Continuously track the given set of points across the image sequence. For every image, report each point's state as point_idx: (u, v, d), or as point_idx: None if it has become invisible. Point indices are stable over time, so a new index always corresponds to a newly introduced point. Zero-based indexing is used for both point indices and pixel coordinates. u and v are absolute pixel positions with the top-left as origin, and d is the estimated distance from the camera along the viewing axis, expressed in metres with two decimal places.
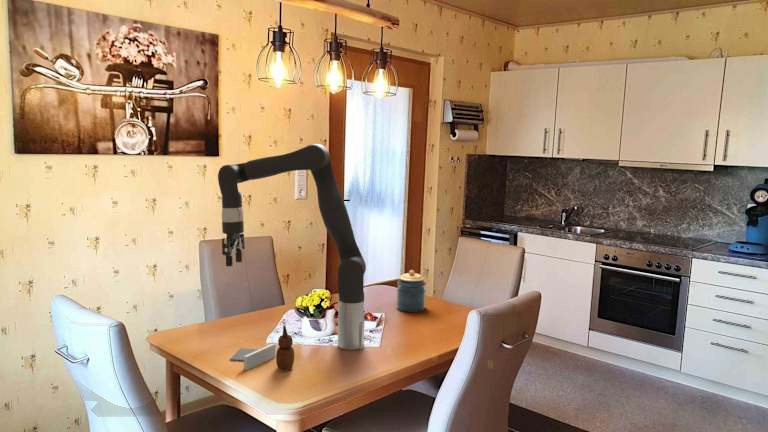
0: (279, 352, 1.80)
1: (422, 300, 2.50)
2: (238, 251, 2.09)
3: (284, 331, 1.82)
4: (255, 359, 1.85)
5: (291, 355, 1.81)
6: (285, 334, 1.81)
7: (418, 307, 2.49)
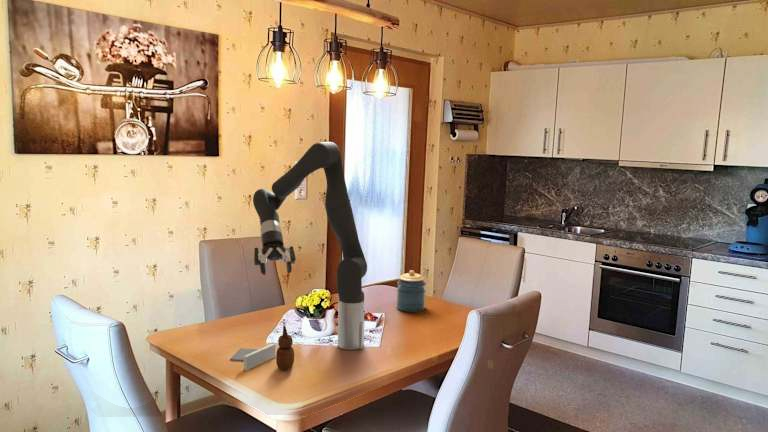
0: (279, 352, 1.80)
1: (422, 300, 2.50)
2: (286, 263, 1.99)
3: (284, 331, 1.82)
4: (255, 359, 1.85)
5: (291, 355, 1.81)
6: (285, 334, 1.81)
7: (418, 307, 2.49)
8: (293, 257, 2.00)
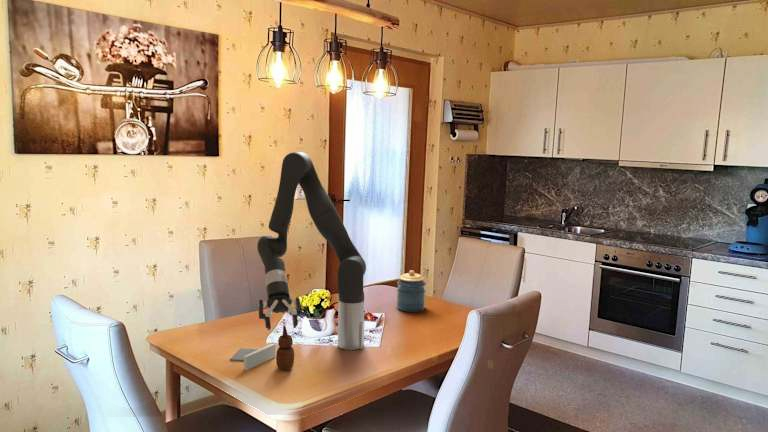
0: (279, 352, 1.80)
1: (422, 300, 2.50)
2: (292, 316, 1.90)
3: (284, 331, 1.82)
4: (255, 359, 1.85)
5: (291, 355, 1.81)
6: (285, 334, 1.81)
7: (418, 307, 2.49)
8: (299, 310, 1.91)
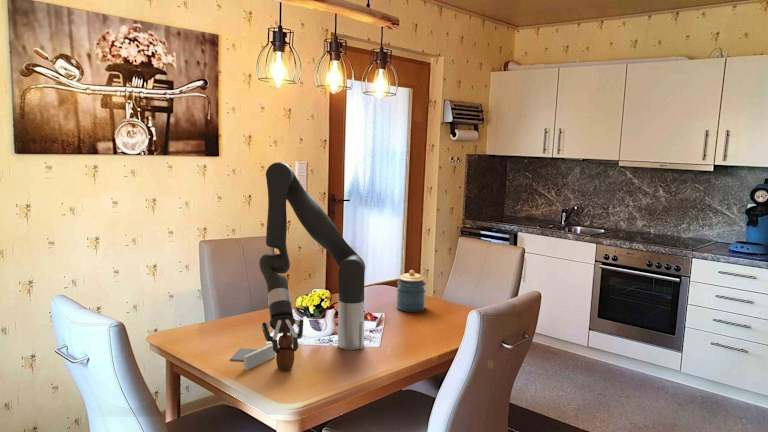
0: (279, 352, 1.80)
1: (422, 300, 2.50)
2: (293, 338, 1.84)
3: (284, 331, 1.82)
4: (255, 359, 1.85)
5: (291, 355, 1.81)
6: (285, 334, 1.81)
7: (418, 307, 2.49)
8: (300, 332, 1.85)
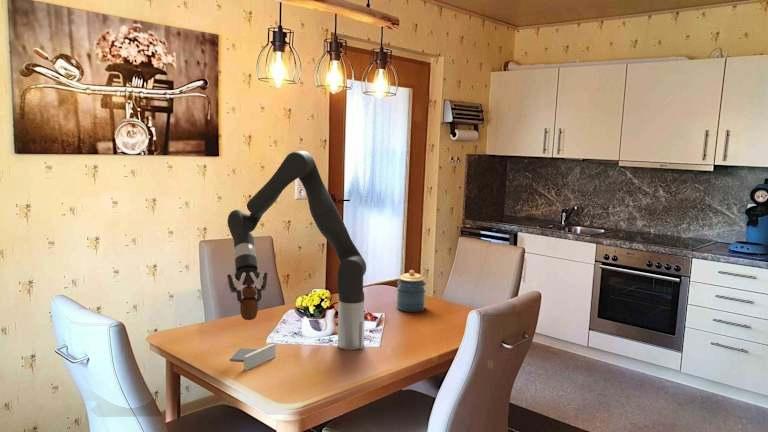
0: (243, 302, 1.89)
1: (422, 300, 2.50)
2: (256, 290, 1.93)
3: (248, 282, 1.91)
4: (255, 359, 1.85)
5: (254, 305, 1.89)
6: (249, 285, 1.90)
7: (418, 307, 2.49)
8: (263, 284, 1.93)
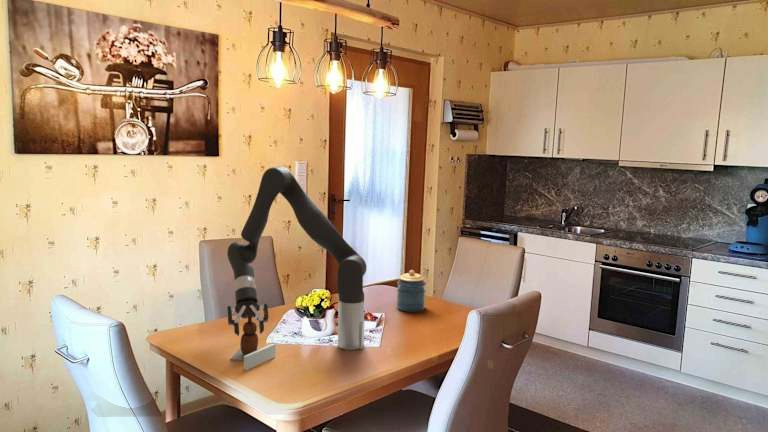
0: (243, 338, 1.90)
1: (422, 300, 2.50)
2: (259, 322, 1.95)
3: (249, 318, 1.92)
4: (255, 359, 1.85)
5: (254, 341, 1.91)
6: (250, 321, 1.91)
7: (418, 307, 2.49)
8: (266, 316, 1.95)
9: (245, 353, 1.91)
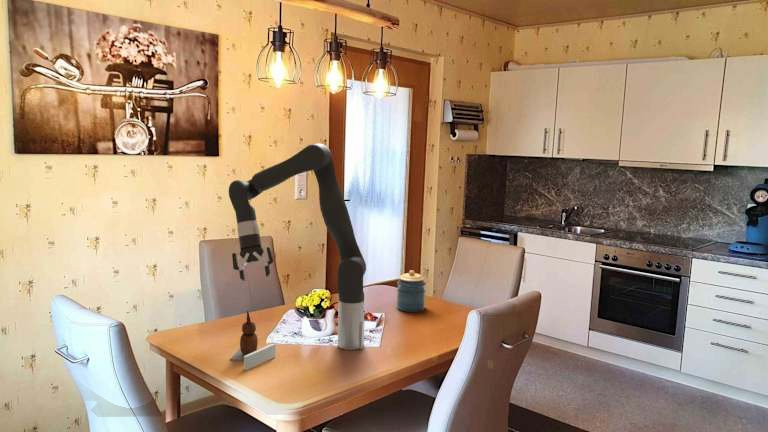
0: (242, 338, 1.90)
1: (422, 300, 2.50)
2: (265, 265, 2.04)
3: (247, 318, 1.92)
4: (255, 359, 1.85)
5: (254, 341, 1.91)
6: (248, 321, 1.91)
7: (418, 307, 2.49)
8: (270, 260, 2.03)
9: (245, 353, 1.91)
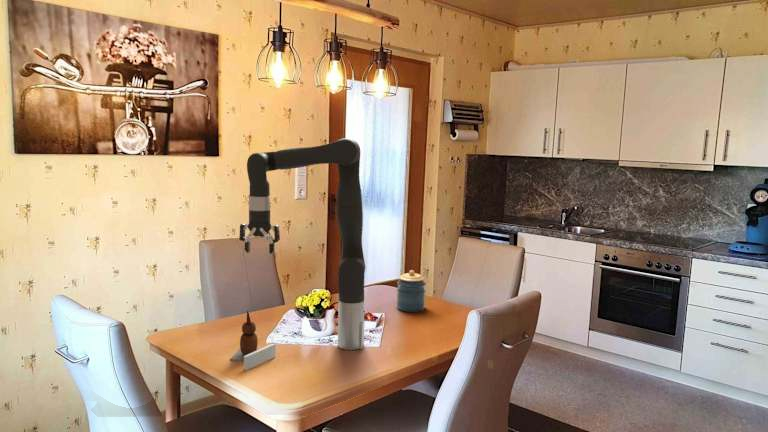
0: (242, 338, 1.90)
1: (422, 300, 2.50)
2: None
3: (247, 318, 1.92)
4: (255, 359, 1.85)
5: (254, 341, 1.91)
6: (248, 321, 1.91)
7: (418, 307, 2.49)
8: (275, 239, 2.02)
9: (245, 353, 1.91)
